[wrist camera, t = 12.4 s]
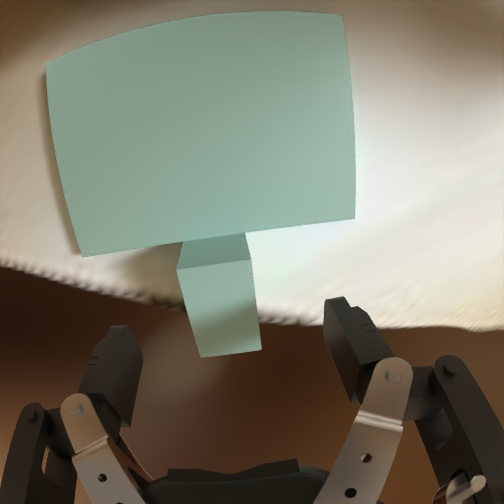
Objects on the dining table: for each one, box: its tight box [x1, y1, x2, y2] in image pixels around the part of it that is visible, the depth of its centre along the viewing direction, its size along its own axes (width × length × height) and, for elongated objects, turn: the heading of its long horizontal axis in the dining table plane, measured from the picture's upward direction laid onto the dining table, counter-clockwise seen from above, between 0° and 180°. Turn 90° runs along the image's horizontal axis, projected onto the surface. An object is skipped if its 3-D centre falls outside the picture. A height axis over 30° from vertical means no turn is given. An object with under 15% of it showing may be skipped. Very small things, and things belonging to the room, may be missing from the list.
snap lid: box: [46, 11, 356, 357], centre depth 12 cm, size 14×16×4 cm
